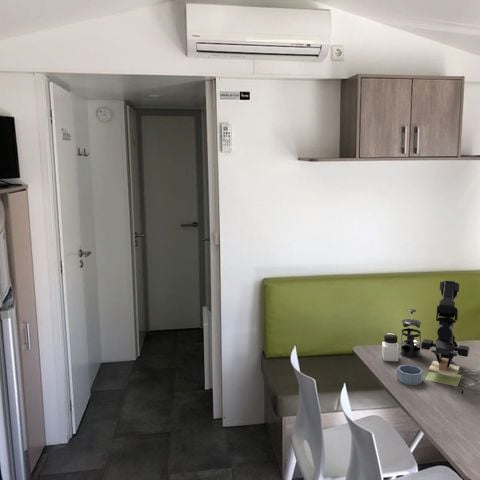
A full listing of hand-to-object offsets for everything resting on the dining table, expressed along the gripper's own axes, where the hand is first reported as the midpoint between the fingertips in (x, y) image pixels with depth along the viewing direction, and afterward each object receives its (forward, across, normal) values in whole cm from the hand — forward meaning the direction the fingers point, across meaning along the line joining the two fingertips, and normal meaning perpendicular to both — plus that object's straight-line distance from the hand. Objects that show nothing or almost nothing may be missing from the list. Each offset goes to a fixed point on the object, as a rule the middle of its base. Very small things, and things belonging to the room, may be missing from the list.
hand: (444, 366), depth 207 cm
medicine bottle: (+6, -26, +10) cm, 28 cm away
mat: (+6, 0, 0) cm, 6 cm away
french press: (+6, -19, +20) cm, 28 cm away
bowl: (+5, -12, -10) cm, 16 cm away
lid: (+2, 0, 0) cm, 2 cm away
